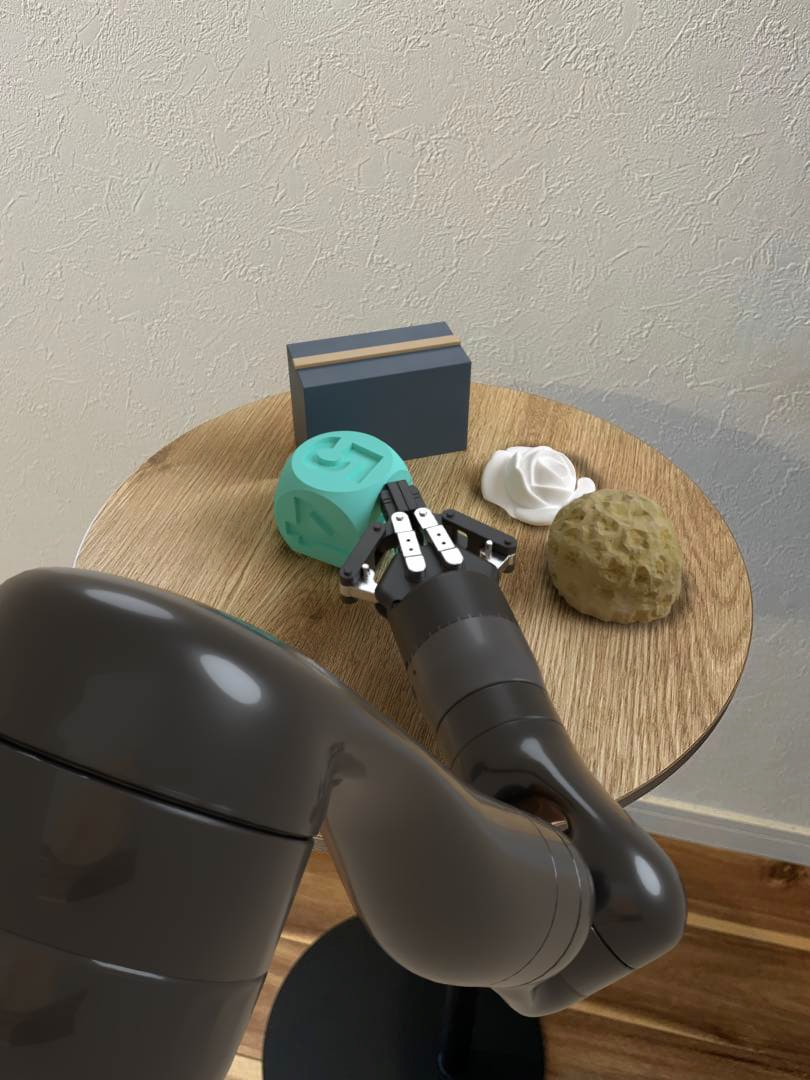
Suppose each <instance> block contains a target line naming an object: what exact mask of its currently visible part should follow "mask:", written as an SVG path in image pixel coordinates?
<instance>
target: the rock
mask: <svg viewBox="0 0 810 1080" xmlns="http://www.w3.org/2000/svg"><path fill="white" fill-rule="evenodd" d="M684 564H685V563H684V557H683V553H682V548H681V543H680V541H679V539H678V536H677V532H676V531H675V529H674V526H673V523H672V522H671V520H670V519H669V518H668V517H667V515H666V512H665V511H664V509H662V506H661V505H660V504H659V503H658V502H656V501H655V500H654V499H653V498H650V497H648V496H647V495H646V494H643V493H641V492H639V491H634V490H628V489H627V490H626V489H615V488H614V489H611V488H606V487H605V488H602V489H596V490H595V491H593V492H591V493H587V494H583V495H582V496H581V497H579V498H575V499H574V500H572V501H571V502H570V503H569V504H568V505H566V506H564V507H562V508H561V509H560V510H559V511H558V512H557V514H556V516H555V518H554V520H553V522H552V524H551V525H550V527H549V534H548V541H547V568H548V572H549V576H550V577H551V579H552V585H553V586H554V587H555V589H557V591H558V596H561V597H562V598H564V600H565V602H566V603H567V604H568V605H569V606H570V607H571V608H574V609H575V610H576V611H577V612H579V613H580V614H582V615H588V616H592V618H593V617H594V618H596V619H598V620H600V621H602V622H605V623H608V622H615V623H618V624H624V625H625V624H627V625H628V624H630V623H632V624H633V623H637V622H638V623H640V624H647V623H651V622H653V621H656V620H661V619H664V618H666V617H667V616H668V615H669V614H670V612H671V609H672V605H674V603H675V602H678V600H680V599H679V597H680V594H681V587H682V583H683V580H682V574H683V566H684Z"/></svg>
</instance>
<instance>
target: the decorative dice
mask: <svg viewBox="0 0 810 1080" xmlns="http://www.w3.org/2000/svg"><path fill="white" fill-rule="evenodd" d="M399 480H406V481H407V483H408V485H409V486H410V485H414V483H413V477H412V475H411V473H410V471H409V469H408V467H407V465H406V463H405V461H403V460H402V459H401V458H400V457H399V455H398V454H397V453H396V452H395V451H394V450H393V449H392V448H391V447H389V446H388V445H387V444H386V443H384V442H383V441H381V440H379V439H377V438H376V437H373V436H371V435H368V434H365V433H361V432H354V431H335V432H329V433H324V434H321V435H318V436H315V437H313V438H311V439H309V440H307V441H306V442H304V443H303V444H301V445H300V446H299V447H298V448H297V447H296V448H295V450H294V451H293V452H292V453H291V454H290V456H289V458H288V459H287V460H286V462H285V464H284V465H283V467H282V470H281V473H280V475H279V477H278V481H277V483H276V488H275V492H274V499H273V515H274V520H275V524H276V527H277V528H278V531H279V533H280V536H281V537H282V538H283V540H284V541H285V543H286V544H287V545H288V547H289V548H290V549H291V550H292V551H294V552H296V553H299V554H302V555H305V556H307V557H309V558H313V559H315V560H318V561H319V562H323V563H326V564H328V565H331V566H334V567H336V568H339V569H341V567H342V566H343V564H344V563H345V561H346V560H347V558H348V557H349V555H350V554H351V552H352V551H353V549H354V548H355V546H356V545H357V543H358V542H359V540H360V539H361V537H362V536H363V534H364V533H365V531H366V530H367V528H368V527H369V525H370V524H371V523H374V522H381V523H383V524H384V523H386V522H385V519H384V517H383V514H382V512H381V497H380V495H381V490H386V483H388V482H394V481H399Z"/></svg>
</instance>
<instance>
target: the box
mask: <svg viewBox="0 0 810 1080" xmlns="http://www.w3.org/2000/svg"><path fill="white" fill-rule="evenodd" d="M286 357H287V367H288V379H289V388H290V389H289V390H290V401H291V402H290V403H291V412H292V424H293V431H294V432H293V435H294V443H295V445H296V449H297V448H298V447H299V446H300V445H301V444H303V443H304V442H306V441H307V440H309V439H311V438H313V437H315V436H318V435H321V434H324V433H329V432H335V431H354V432H361V433H365V434H368V435H371V436H373V437H376V438H377V439H379V440H381V441H383V442H384V443H386V444H387V445H388V446H389V447H391V448H392V449H393V450H394V451H395V452H396V453H397V454H398V455H399V457H400V458H401V459H402V460H403V462H406V461H412V460H418V459H423V458H429V457H434V456H440V455H446V454H451V453H459V452H462V451H467V450H468V435H469V420H470V419H469V415H470V400H471V399H470V398H471V382H472V381H471V379H472V365H473V363H472V360H471V359H470V357H469V356H468V354H467V353H466V351H465V350H464V348H463V346H462V340H461V339H460V337H459V336H458V334H454V332H453V331H452V329H451V328H450V326H449V325H448V324H447V322H446V321H438V322H432V323H424V324H416V325H410V326H404V327H395V328H388V329H382V330H376V331H375V330H374V331H369V332H362V333H361V332H360V333H355V334H347V335H343V336H342V335H341V336H335V337H328V338H327V337H326V338H320V339H314V340H307V341H300V342H293V343H287V344H286Z"/></svg>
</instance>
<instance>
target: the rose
mask: <svg viewBox="0 0 810 1080" xmlns="http://www.w3.org/2000/svg"><path fill="white" fill-rule="evenodd" d="M480 485H481V487H480V489H481V494H482V497H483V499H484V500H485V501H487V502H490V503H493V504H495V505H497V506H499V507H500V508H502V509H503V510H504V511H506V513H507V514H508V515H509V516H510V517H511V518H513V519H516V520H518V521H520V522H521V523H525V524H528V525H532V526H537V527H538V526H539V527H542V526H544V527H545V526H551V524H552V522H553V520H554V518H555V516H556V514H557V512H558V511H559V510H560V509H561V508H562V507H564V506H566V505H568V504H569V503H570V502H571V501H572V500H574V499H575V498H579V497H581V496H582V495H583V494H587V493H591V492H593V491H596V490H597V489H596V484H595V482H594V481H593V480H592V478H589V477H580V478H578V479H577V473H576V470H575V466H574V464H573V463H572V461H571V460H570V459H569V458H568V457H567V456H566V454H564V453H562V452H560V451H558V450H554V448H552V447H550V446H547V445H538V446H534V447H531V446H519V445H518V446H511V447H508V448H506V449H505V450H502V449H498V450H496V451H494V453H493V454H492V455H491V458H490V460H489V461H487V463H486V465H485V466H484V469H483V471H482V475H481V482H480ZM576 485H577V487H576Z"/></svg>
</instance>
